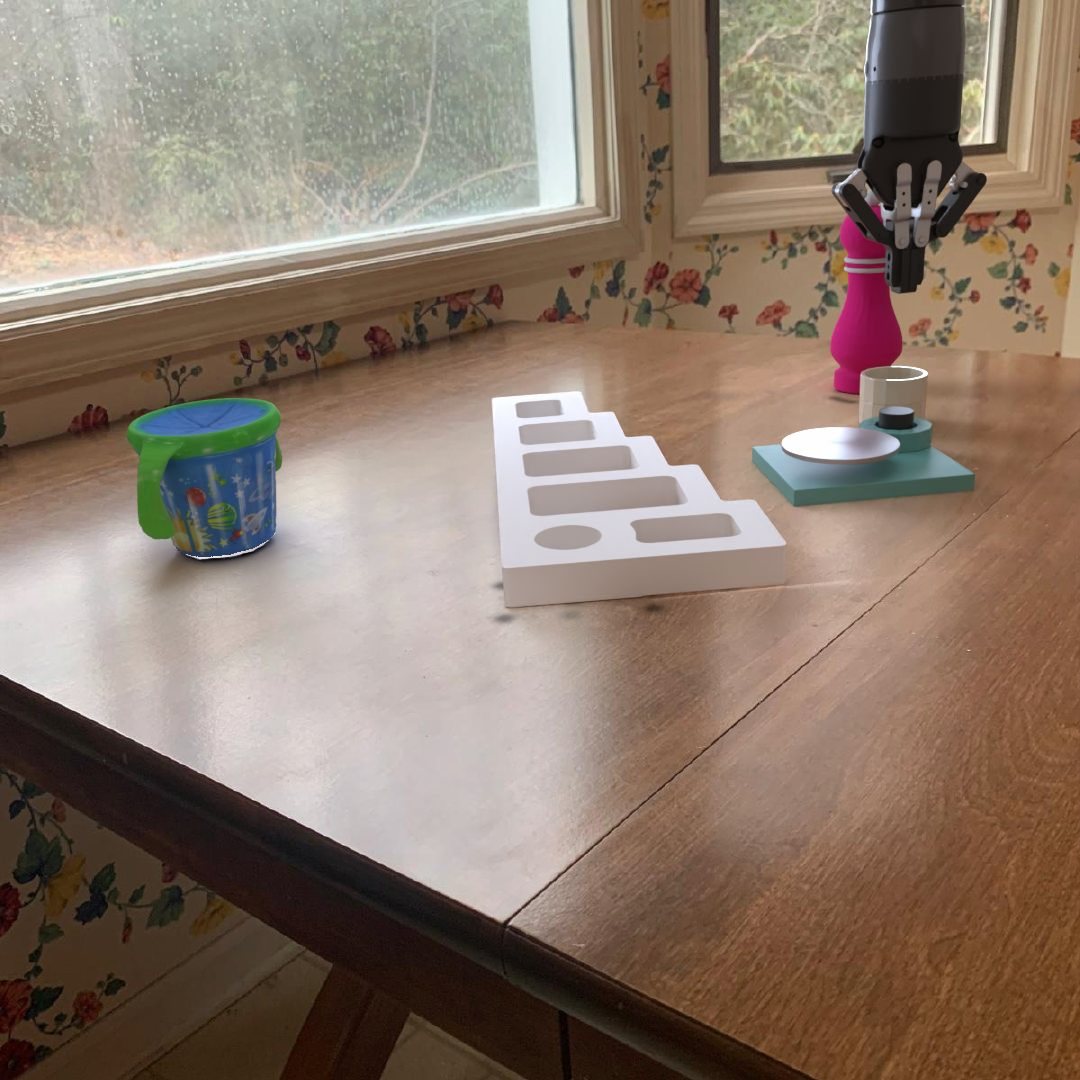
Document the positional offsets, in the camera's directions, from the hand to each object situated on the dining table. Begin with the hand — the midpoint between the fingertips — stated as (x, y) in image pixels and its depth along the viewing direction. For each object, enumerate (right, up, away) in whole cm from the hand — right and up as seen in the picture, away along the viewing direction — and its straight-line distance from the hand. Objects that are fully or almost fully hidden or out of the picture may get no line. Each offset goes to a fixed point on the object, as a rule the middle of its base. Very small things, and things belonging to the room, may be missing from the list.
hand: (903, 291), depth 94 cm
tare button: (-2, -12, -3) cm, 13 cm away
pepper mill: (+3, -5, +21) cm, 22 cm away
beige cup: (+1, -11, +7) cm, 13 cm away
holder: (-26, -17, -4) cm, 31 cm away
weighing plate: (-8, -14, -8) cm, 18 cm away
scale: (-6, -16, -5) cm, 18 cm away
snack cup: (-55, -22, -11) cm, 60 cm away
